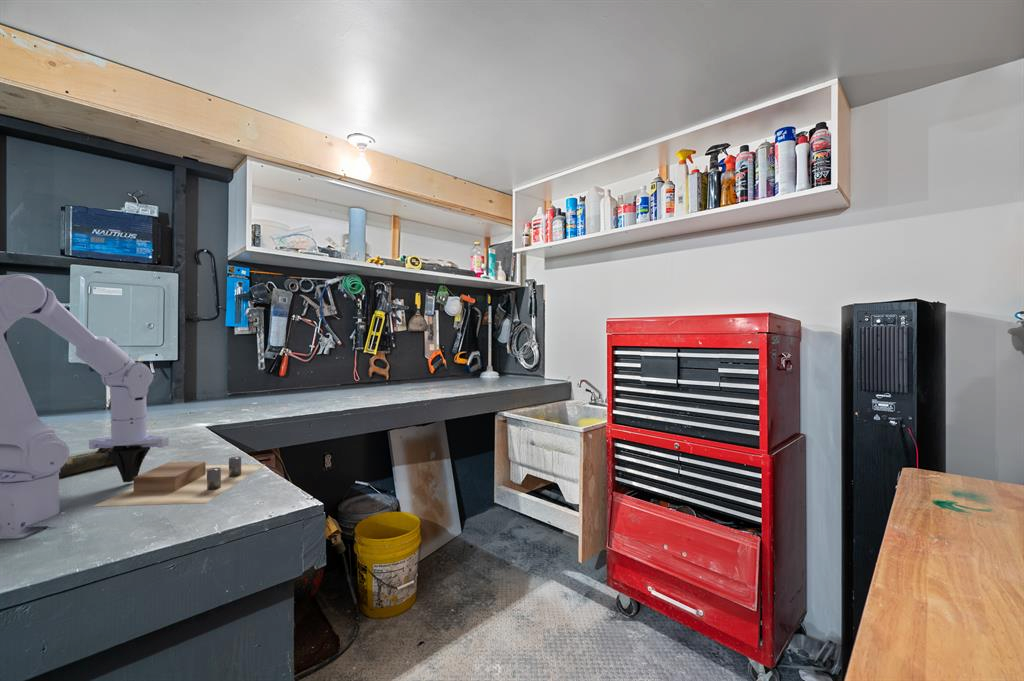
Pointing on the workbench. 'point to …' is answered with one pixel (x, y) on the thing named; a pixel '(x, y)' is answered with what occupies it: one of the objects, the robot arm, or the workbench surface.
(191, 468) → the walnut plate
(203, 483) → the bench board
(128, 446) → the robot arm
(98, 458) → the mossy wood log
